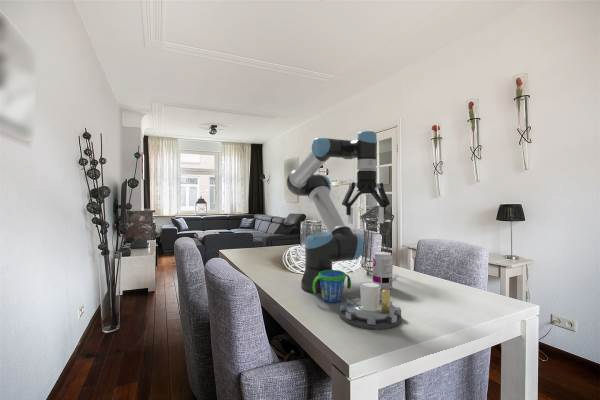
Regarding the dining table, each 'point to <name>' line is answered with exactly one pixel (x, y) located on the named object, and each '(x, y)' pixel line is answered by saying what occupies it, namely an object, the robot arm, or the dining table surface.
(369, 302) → the shot glass
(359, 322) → the sprocket base
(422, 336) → the dining table surface
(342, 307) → the sprocket
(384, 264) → the supplement can
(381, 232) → the geometric lantern
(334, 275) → the snack cup
